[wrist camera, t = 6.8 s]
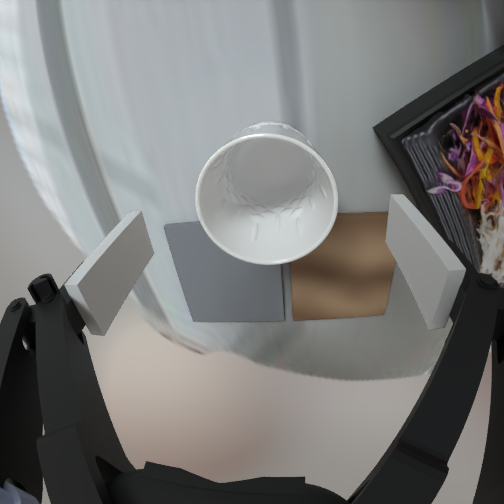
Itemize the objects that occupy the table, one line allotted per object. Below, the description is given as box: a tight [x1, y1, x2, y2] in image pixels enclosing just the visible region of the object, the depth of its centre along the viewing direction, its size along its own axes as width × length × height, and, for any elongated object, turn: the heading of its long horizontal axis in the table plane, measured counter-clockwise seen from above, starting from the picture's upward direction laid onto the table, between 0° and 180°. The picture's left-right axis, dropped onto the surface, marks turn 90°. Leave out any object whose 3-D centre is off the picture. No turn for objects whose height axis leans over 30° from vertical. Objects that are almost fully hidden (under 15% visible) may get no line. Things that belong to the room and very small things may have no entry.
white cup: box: [195, 120, 338, 265], centre depth 20 cm, size 8×8×10 cm
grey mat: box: [164, 221, 284, 322], centre depth 31 cm, size 13×11×1 cm
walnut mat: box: [290, 212, 396, 321], centre depth 29 cm, size 13×11×1 cm
